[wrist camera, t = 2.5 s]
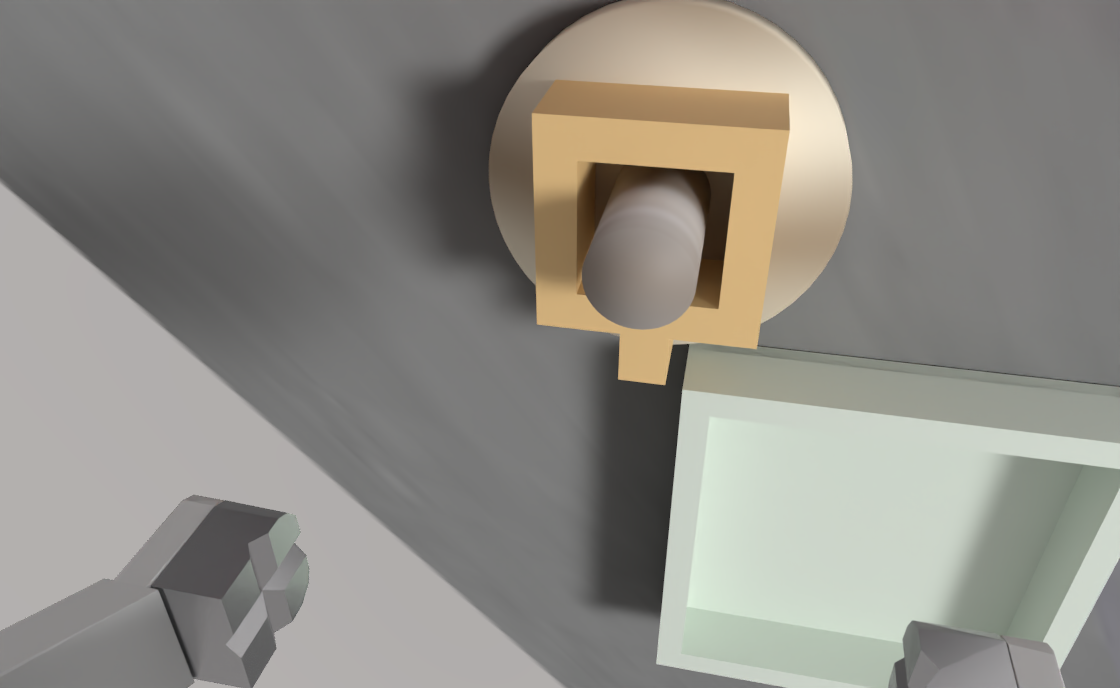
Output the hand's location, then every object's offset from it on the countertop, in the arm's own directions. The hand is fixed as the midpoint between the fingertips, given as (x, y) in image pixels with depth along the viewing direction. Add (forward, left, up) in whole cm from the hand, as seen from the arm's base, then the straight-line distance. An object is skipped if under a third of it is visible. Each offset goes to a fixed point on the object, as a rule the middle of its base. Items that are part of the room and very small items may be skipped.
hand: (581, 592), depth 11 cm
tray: (+11, +7, -14) cm, 19 cm away
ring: (0, 0, -12) cm, 12 cm away
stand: (0, 0, -14) cm, 14 cm away
